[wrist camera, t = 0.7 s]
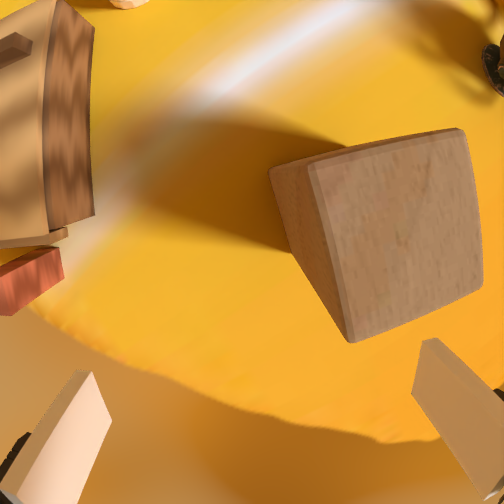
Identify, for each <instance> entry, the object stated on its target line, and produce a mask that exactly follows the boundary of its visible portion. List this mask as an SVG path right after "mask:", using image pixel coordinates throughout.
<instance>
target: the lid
mask: <svg viewBox="0 0 504 504" xmlns="http://www.w3.org/2000/svg"><path fill="white" fill-rule="evenodd" d="M56 1H57V0H38V1H36V2H34V3H32V4H30V5H28V6H26V7H24V8H22V9H20V10H18V11H16V12H14V13H12V14H10V15H8V16H6V17H5V18H3V19H1V20H0V249H5V248H16V247H26V246H37V245H49V244H52V243H54V242H57V241H59V240H61V239H64V238H66V237H68V230H67V227H60V228H57V229H51V230H49V229H48V221H47V212H46V203H45V192H44V179H43V159H42V110H43V91H44V78H45V68H46V59H47V51H48V44H49V37H50V31H51V25H52V20H53V15H54V10H55V5H56Z"/></svg>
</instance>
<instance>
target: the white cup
mask: <svg viewBox="0 0 504 504" xmlns="http://www.w3.org/2000/svg"><path fill="white" fill-rule="evenodd" d="M109 1H110V2H111V3H112V4H113V5H114V6H115V7H117V8H121V9H130V8H136V7H138V6H140V5H142V4H145V3H147V2H148V1H149V0H109Z"/></svg>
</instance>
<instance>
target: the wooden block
mask: <svg viewBox="0 0 504 504" xmlns="http://www.w3.org/2000/svg"><path fill="white" fill-rule="evenodd" d="M268 175H269V179H270V182H271V185H272V188H273V192H274V195H275V198H276V202H277V205H278V208H279V212H280V215H281V218H282V222H283V225H284V229H285V232H286V236H287V239H288V243H289V246H290V250H291V253H292V255H293V256H294V258H295V259H296V261H297V262H298V264H299V266H300V267H301V269H302V270H303V272H304V273H305V275H306V277H307V278H308V280H309V281H310V283H311V285H312V286H313V288H314V289H315V291H316V293H317V294H318V296H319V297H320V299H321V301H322V302H323V304H324V306H325V307H326V309H327V310H328V312H329V314H330V315H331V317H332V319H333V320H334V322H335V323H336V325H337V327H338V328H339V330H340V332H341V333H342V335H343V337H344V338H345V339H346V341H347V342H349V343H356V342H359V341H362V340H365V339H367V338H370V337H372V336H375V335H378V334H380V333H383V332H385V331H388V330H390V329H393V328H395V327H398V326H400V325H403V324H405V323H407V322H410V321H412V320H414V319H417V318H419V317H421V316H424V315H426V314H428V313H430V312H433V311H435V310H437V309H439V308H441V307H443V306H446V305H448V304H450V303H452V302H454V301H456V300H458V299H460V298H462V297H464V296H466V295H468V294H470V293H472V292H474V291H476V290H478V289H480V288H481V287H482V285H483V252H482V236H481V225H480V215H479V206H478V199H477V192H476V185H475V179H474V173H473V168H472V162H471V157H470V153H469V148H468V143H467V139H466V135H465V133H464V131H463V130H461V129H458V128H449V129H443V130H436V131H430V132H424V133H418V134H412V135H406V136H401V137H395V138H390V139H385V140H380V141H374V142H370V143H365V144H360V145H355V146H350V147H346V148H342V149H338V150H334V151H330V152H326V153H322V154H319V155H315V156H311V157H307V158H304V159H300V160H296V161H293V162H289V163H286V164H282V165H279V166H275V167H272V168H270V169H269V170H268Z"/></svg>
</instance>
